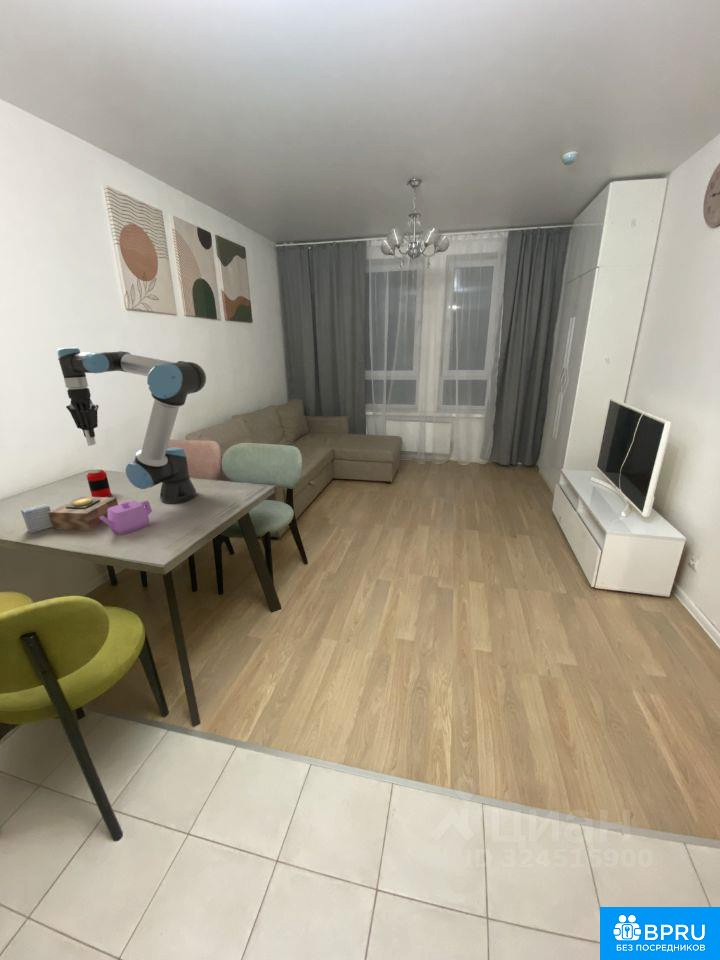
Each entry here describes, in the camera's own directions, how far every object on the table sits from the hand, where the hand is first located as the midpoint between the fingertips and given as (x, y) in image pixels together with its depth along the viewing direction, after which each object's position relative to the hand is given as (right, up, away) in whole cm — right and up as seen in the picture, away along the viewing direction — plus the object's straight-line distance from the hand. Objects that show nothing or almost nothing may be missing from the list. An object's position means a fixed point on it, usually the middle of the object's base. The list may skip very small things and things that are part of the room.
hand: (91, 444), depth 169 cm
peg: (+5, -31, -10) cm, 33 cm away
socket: (+5, -31, -10) cm, 33 cm away
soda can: (-6, -23, +16) cm, 29 cm away
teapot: (+25, -33, -16) cm, 45 cm away
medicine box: (-9, -34, -16) cm, 38 cm away
